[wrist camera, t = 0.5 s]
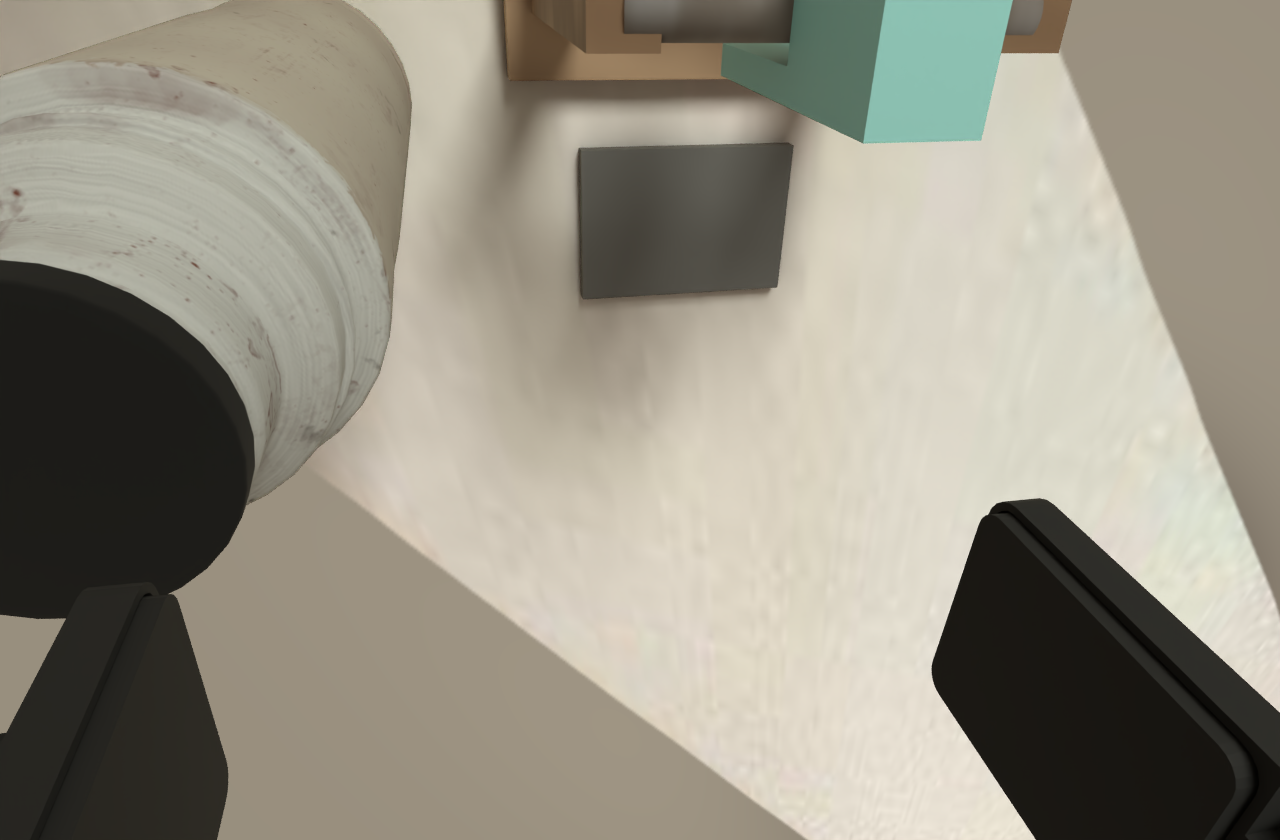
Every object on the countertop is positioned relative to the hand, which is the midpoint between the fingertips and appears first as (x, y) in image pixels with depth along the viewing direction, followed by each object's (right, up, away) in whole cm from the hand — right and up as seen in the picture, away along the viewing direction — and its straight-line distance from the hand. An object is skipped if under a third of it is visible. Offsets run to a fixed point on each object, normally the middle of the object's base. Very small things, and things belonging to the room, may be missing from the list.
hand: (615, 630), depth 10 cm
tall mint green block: (+5, +16, +17) cm, 24 cm away
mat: (+2, +12, +30) cm, 32 cm away
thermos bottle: (-13, +16, +24) cm, 31 cm away
